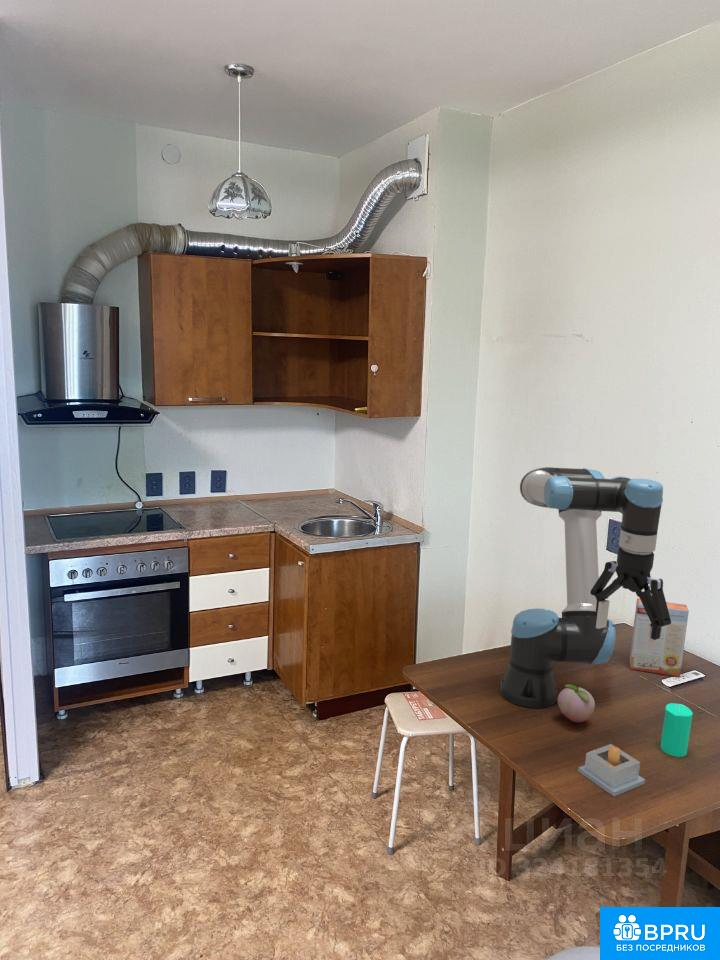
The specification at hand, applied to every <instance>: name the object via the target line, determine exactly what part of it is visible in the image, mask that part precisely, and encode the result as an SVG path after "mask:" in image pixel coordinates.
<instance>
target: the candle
mask: <svg viewBox="0 0 720 960" xmlns="http://www.w3.org/2000/svg"><path fill="white" fill-rule="evenodd" d="M693 714H694V712H693V711H692V710H691V709H690V708H689V707H688V706H686V705H684V704H681V703H676V702H675V703H671V702H670V703H667V704H666V705H665V712H664V718H663V725H662V732H661V740H660V749H661V751H662V752H663V753H666V754H668V755H669V756H672V757H677V758H680V757H685V756H687V754H688V750H689V749H688V748H689V741H690V734H691V727H692V721H693Z"/></svg>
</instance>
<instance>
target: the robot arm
mask: <svg viewBox="0 0 720 960" xmlns="http://www.w3.org/2000/svg"><path fill="white" fill-rule="evenodd" d="M519 492H520V494H521V497H522V498H523V500H524V501H526V502H527V503H528V504H530V505H533V506H537V507H541V508H548V509H552V510H553V509H554V510H555V509H556V510H558V517H559V518H560V519H561V520H563V522H564V544H565V545H564V547H565V548H564V549H565V550H564V551H565V578H566V580H565V581H566V607H564V609H563V610H562V611H561V617H559V616H558V614H557V613H556V612H555V611H553V610H550V609H545V608H529V609H525V610H522V611H520V612H518V613H517V614H515V615H514V618H513V622H512V626H511V627H512V628H511V630H510V632H511V635H510V636H511V637H510V647H509V648H510V650H509V660H508V661H509V662H508V666H507V667H506V670H505V672H504V675H503V677H502V679H501V681H500V687H499V692H500V695H501V696H502V697H503V698H504V699H505V700H507V701H509V702H510V703H513V704H515V705H518V706H522V707H526V708H532V709H535V708H536V709H539V708H548V707H550V706H552V705H554V704H555V703H556V702H557V699H558V688H557V686H556V679H555V677H554V662H555V663H556V662H558V663H559V662H560V663H577V664H588V665H593V664H605V663H607V662H608V661H609V660H610V659H611V656H612V655H613V652H614V649H615V646H616V645H615V644H616V637H617V636H616V634H617V633H616V627H615V623H614V622H613V620H610V618H609V617H608V616H609V615H608V614H609V610H610V609H609V607H610V602H611V601H610V600H608V599H609V597H610V596H612V595H613V594H615V592H617V591H618V590H619V589H620V588H623V589H626V590H629V591H630V592H632V593H635V595H636V596H637V597H638V598H640V600H641V602H642V604H643V606H644V608H645V611H646V613H647V615H648V617H649V619H650V621H651V623H650V624H648V626H647V633H646V640H645V647H644V652H645V653H649V652H653V651H655V647H656V640H657V639H659V638H660V633H661V627H662V626H666V625H670V624H671V619H670V615H669V612H668V608H667V604H666V602H667V600H666V597H665V593H664V580H663V578H654V577H653V578H652V576H651V572H652V570H653V567H654V560H655V553H654V552H655V551H656V545H657V539H658V529H659V524H660V523H659V522H660V517H661V510H662V505H663V501H664V498H663V495H664V494H663V493H664V486H663V485H662V484H661V483H660V482H659V481H656V480H653V479H649V478H648V479H647V478H630V477H626V476H623V475H622V476H620V475H619V476H614V477H612V478H606V477H605V476H604V475H603V473H602V472H600V471H599V470H596V469H589V468H570V467H569V468H568V467H566V468H565V467H547V466H545V467H539V468H536V469H533V470H530V471H528V472H527V473H526V474H525V475H524V476H523V477H522V478H521V481H520V483H519ZM602 512H611V513H621V515H622V517H621V525H620V526H621V527H620V534H619V535H620V536H619V541H618V546H619V548H618V549H617V555H616V561H615V560H612V561H606V562H605V564H604V569H603V571H602V573H601V574H600V576H599V557H598V556H599V553H598V535H597V520H598V519H600V517H601V516H602ZM614 574H616V576H617V577H616V578H615V579H613V580H612V582H611V583H610V584H609V582H610V580H611V579H612V578H613V576H614ZM608 584H609V585H608ZM607 585H608V586H607ZM608 618H609V619H608Z"/></svg>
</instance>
